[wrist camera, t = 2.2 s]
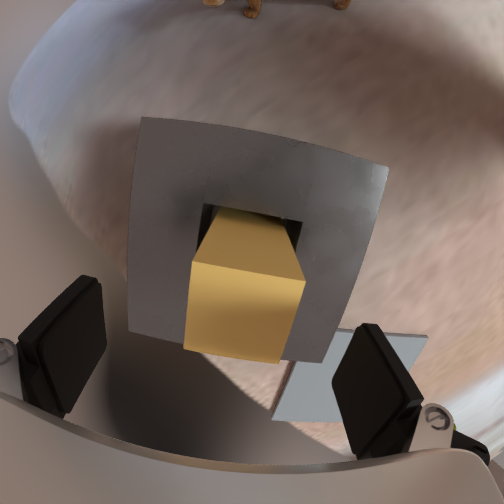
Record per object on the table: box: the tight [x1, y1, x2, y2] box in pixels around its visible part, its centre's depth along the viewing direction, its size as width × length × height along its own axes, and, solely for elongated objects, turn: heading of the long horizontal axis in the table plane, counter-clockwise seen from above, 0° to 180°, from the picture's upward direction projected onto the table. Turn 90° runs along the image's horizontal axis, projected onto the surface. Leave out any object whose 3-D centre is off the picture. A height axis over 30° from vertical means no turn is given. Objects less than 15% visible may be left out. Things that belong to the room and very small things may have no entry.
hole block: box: [127, 117, 389, 363], centre depth 20 cm, size 14×14×8 cm
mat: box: [271, 328, 429, 422], centre depth 30 cm, size 16×16×1 cm
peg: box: [184, 206, 306, 364], centre depth 16 cm, size 4×4×12 cm
